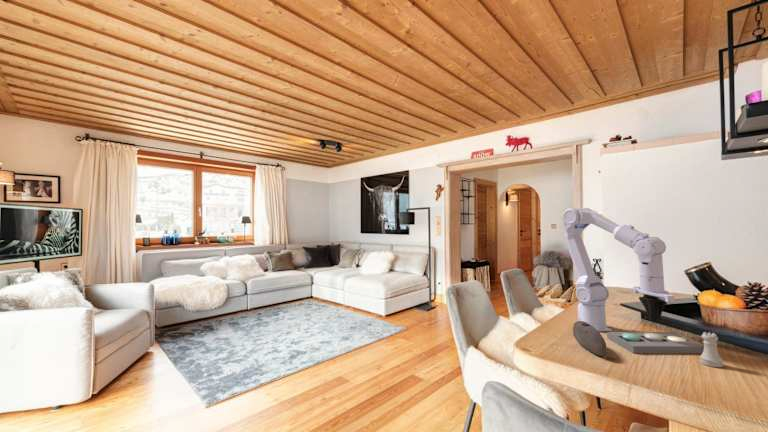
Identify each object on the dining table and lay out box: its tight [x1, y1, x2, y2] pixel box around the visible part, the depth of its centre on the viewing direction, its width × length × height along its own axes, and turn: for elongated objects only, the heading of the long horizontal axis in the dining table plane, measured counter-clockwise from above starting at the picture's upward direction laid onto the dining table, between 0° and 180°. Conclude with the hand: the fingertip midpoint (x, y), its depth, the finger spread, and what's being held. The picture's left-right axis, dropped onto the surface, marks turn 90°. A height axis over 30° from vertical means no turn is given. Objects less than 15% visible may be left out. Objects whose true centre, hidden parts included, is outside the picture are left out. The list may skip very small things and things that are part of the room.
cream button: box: [667, 336, 687, 342], centre depth 98 cm, size 4×4×1 cm
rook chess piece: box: [699, 331, 725, 368], centre depth 85 cm, size 4×4×8 cm
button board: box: [606, 331, 704, 354], centre depth 99 cm, size 13×20×2 cm, turn 84°
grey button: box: [644, 333, 663, 342], centre depth 99 cm, size 4×4×1 cm
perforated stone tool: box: [572, 320, 607, 357], centre depth 97 cm, size 15×5×7 cm, turn 170°
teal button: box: [622, 333, 640, 342], centre depth 100 cm, size 4×4×1 cm
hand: (654, 320), depth 99 cm, fingers closed
